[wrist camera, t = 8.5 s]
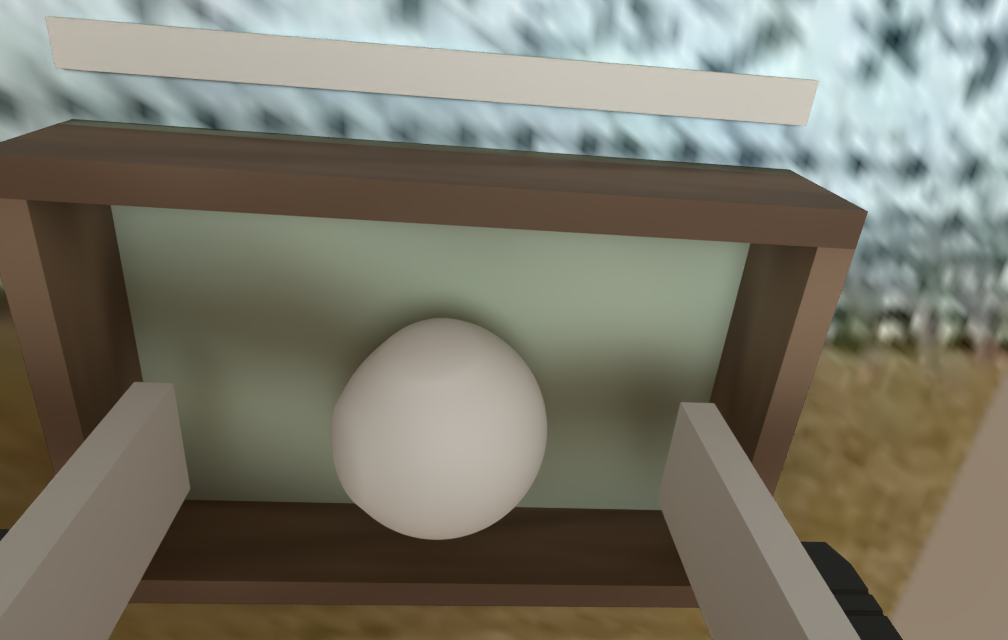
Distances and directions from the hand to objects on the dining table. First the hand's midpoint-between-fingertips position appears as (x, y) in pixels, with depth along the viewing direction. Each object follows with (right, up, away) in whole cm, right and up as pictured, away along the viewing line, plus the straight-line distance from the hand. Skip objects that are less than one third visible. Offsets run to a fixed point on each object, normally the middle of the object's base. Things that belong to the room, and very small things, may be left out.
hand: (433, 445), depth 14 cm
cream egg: (0, +2, +3) cm, 4 cm away
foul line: (0, +8, +1) cm, 8 cm away
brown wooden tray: (0, +2, +4) cm, 4 cm away
